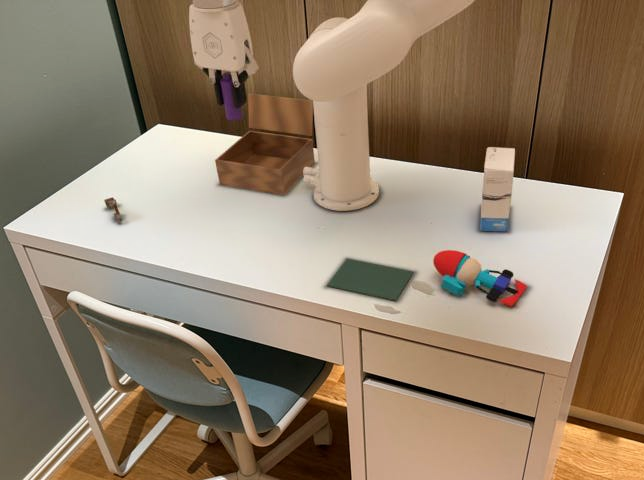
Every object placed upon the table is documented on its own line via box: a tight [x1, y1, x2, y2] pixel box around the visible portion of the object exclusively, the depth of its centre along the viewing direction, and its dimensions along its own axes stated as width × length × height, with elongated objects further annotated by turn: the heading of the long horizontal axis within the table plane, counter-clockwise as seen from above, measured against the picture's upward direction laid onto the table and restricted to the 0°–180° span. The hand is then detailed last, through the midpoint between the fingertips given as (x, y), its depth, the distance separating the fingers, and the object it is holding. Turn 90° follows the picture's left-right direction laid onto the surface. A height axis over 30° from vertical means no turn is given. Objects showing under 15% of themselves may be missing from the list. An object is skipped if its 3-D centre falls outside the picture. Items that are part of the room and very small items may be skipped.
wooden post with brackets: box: [103, 196, 123, 223], centre depth 137 cm, size 2×8×4 cm, turn 28°
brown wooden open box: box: [214, 130, 316, 197], centre depth 144 cm, size 15×14×5 cm
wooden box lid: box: [247, 93, 314, 137], centre depth 145 cm, size 15×7×1 cm
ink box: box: [479, 146, 516, 232], centre depth 123 cm, size 8×5×12 cm, turn 168°
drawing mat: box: [326, 258, 414, 302], centre depth 116 cm, size 12×8×1 cm, turn 65°
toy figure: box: [432, 249, 528, 307], centre depth 112 cm, size 8×5×15 cm
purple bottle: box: [220, 71, 243, 121], centre depth 130 cm, size 3×3×8 cm
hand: (232, 103), depth 130 cm, fingers closed on purple bottle, 3 cm apart
